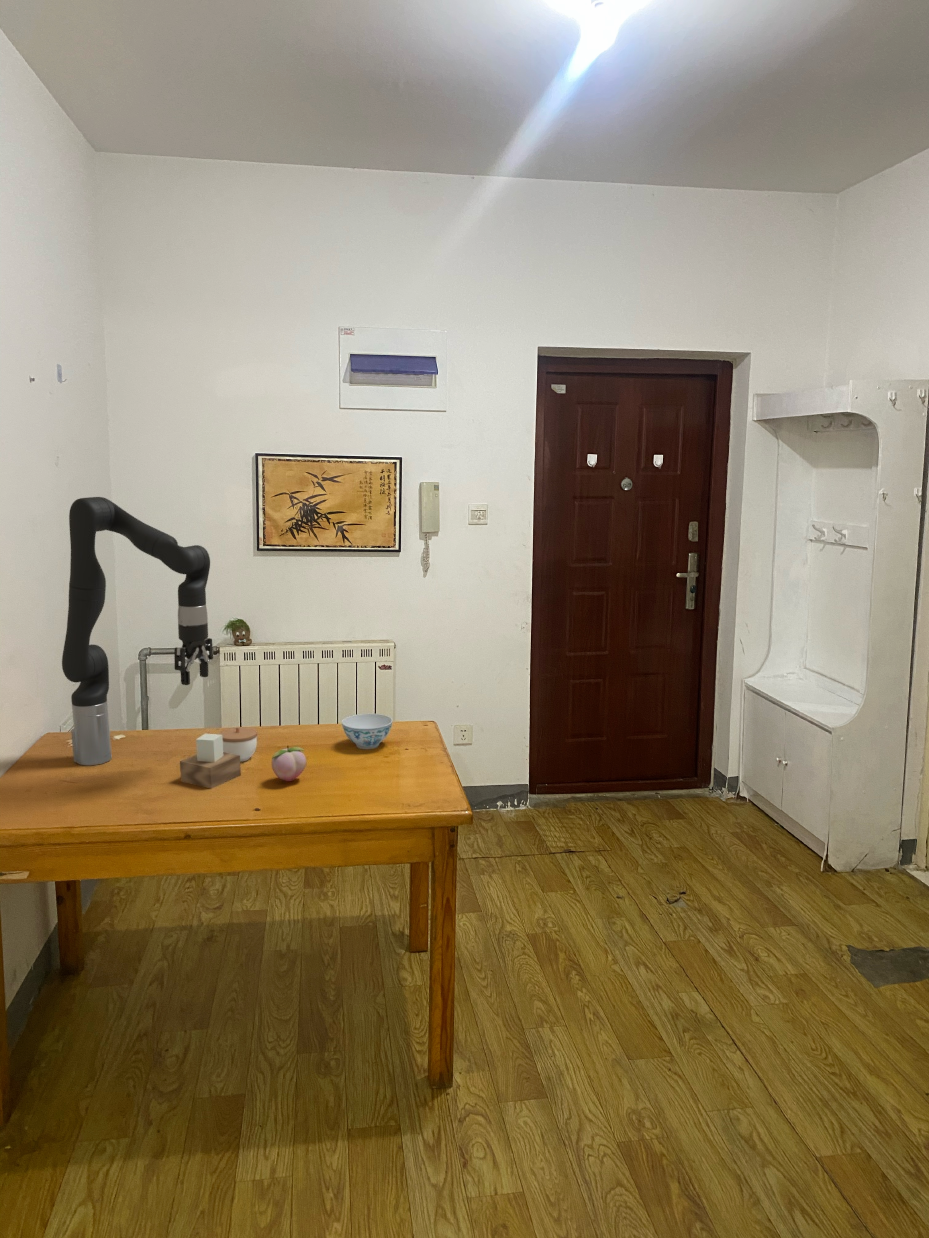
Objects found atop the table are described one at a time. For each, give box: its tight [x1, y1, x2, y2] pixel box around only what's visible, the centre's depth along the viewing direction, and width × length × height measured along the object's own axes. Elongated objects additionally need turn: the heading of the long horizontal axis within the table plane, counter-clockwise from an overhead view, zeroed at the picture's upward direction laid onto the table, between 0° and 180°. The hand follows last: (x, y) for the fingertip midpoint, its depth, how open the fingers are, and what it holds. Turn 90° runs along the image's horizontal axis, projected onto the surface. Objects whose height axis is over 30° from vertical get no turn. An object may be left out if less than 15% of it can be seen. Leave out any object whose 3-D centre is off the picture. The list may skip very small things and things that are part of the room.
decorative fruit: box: [271, 745, 307, 782], centre depth 238 cm, size 9×8×10 cm
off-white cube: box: [195, 733, 223, 762], centre depth 239 cm, size 5×5×6 cm
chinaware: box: [341, 713, 393, 750], centre depth 266 cm, size 15×15×8 cm
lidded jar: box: [218, 726, 258, 763], centre depth 255 cm, size 11×11×9 cm
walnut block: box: [179, 752, 242, 789], centre depth 240 cm, size 11×11×6 cm
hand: (195, 680), depth 239 cm, fingers open, 8 cm apart
